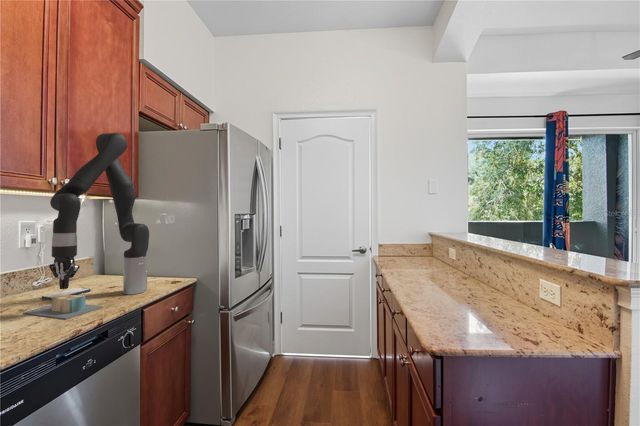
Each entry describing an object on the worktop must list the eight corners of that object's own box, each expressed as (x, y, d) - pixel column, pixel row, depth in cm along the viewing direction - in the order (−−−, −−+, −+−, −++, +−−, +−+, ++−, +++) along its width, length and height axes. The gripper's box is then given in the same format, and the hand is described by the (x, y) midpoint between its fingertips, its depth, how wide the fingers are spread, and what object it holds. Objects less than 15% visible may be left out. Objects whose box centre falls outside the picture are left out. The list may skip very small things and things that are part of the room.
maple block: (65, 294, 118) (85, 296, 116) (65, 306, 118) (85, 308, 116) (51, 297, 113) (71, 299, 111) (51, 310, 113) (71, 313, 111)
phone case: (53, 302, 127) (92, 292, 143) (53, 298, 127) (92, 288, 143) (39, 299, 130) (79, 290, 145) (39, 296, 130) (79, 286, 145)
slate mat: (63, 302, 124) (63, 301, 124) (103, 307, 120) (103, 306, 120) (22, 313, 111) (22, 312, 111) (66, 319, 106) (66, 318, 106)
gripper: (87, 244, 117) (86, 287, 117) (62, 242, 120) (61, 285, 120) (67, 246, 110) (66, 292, 110) (40, 244, 113) (40, 289, 113)
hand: (63, 288), depth 115 cm, fingers closed
